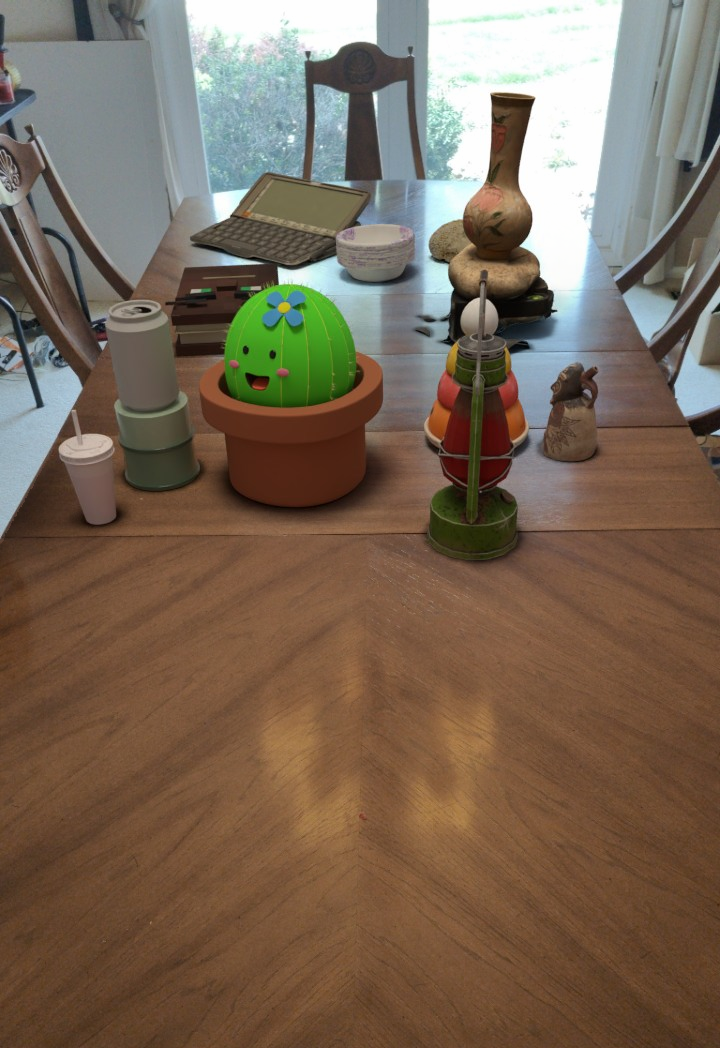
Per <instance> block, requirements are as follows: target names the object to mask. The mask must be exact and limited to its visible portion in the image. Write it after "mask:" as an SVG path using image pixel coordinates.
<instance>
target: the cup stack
mask: <svg viewBox="0 0 720 1048" xmlns="http://www.w3.org/2000/svg"><path fill="white" fill-rule="evenodd" d="M113 408H114V409H113V410H114V414H115V419H116V425H117V430H118V435H117V442H118V444H119V446H120V447H121V449H122V455H123V458H124V459H123V460H124V465H125V471H124V477H125V481H126V482H127V483H128V485H129V486H131V487H133V488H135V489H137V490H140V491H148V492H164V491H170V490H174V489H178V488H182V487H184V486H186V485H188V484H190V483H192V482H193V481H194V480H196V479H197V478H198V477H199V475H200V473H201V463H200V462H199V460H198V458H197V452H196V445H195V439H194V438H195V436H196V430H195V426H194V425H193V423H192V418H191V411H190V405H189V397H188V395H187V394H186V393H185V392H184V391H182V390H179V395H178V397H177V398H176V399H175V400H174V402H173V403H172V404H171V405H170V406H168V407H166V408H164V409H160V410H156V411H149V412H141V411H135V410H131V409H130V408H128V407H127V406H126V405H124V404H123V403H121V402H120V400H119V398H118V399H117V400H116V401H115V402H114V405H113Z"/></svg>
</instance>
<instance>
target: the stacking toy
mask: <svg viewBox="0 0 720 1048" xmlns="http://www.w3.org/2000/svg"><path fill="white" fill-rule="evenodd" d="M479 306H480V298H476V299H474V300H472V301H471V302H469V303H468V305H467V306H466V307H465V308H464V310H463V313H462V316H461V328H462V330H463V332H464V333H465V335H466V336H468V335H472V334H476V333H478V326H479ZM498 327H499V324H498V314H497V311H496V308H495V307H494V305H493V304H492V303H491V302H490V301H489V300H487V299H486V310H485V330H484V332H485V333H488V334H491V335H492V334H493V335H494V334H495V333H496V332H497V329H498ZM457 342H458V341H457ZM457 342H454V344H453V345H452V346H451V348H450V350H449V351H448V353H447V356H446V361H445V369H444V371H443V373H442V375H441V376H440V379H439V382H438V384H437V389H436V399H435V401H434V402H433V404H432V407H431V409H430V412H429V413H430V414H429V415H428V417H427V418H426V419H425V421H424V424H423V430H424V434H425V436H426V438H427V439H428V441H429V442H430V443H431V444H432V445H433V446H435V447H436V448H438V449H440V446H439V443H440V442H441V441H442V439H443V438H444V436H445V432H446V428H447V423H448V420H449V417H450V414H451V411H452V408H453V405H454V402H455V399H456V397H457V395H458V392H459V390H460V388H461V387H459V386H458V385H456V384H455V383H453V380H452V375H453V374H454V372H455V361H456V360H457V350H458V347H457ZM504 350H505V352H506V357H505V361H506V372H505V373H506V374H507V376H508V381H507V383H506V384H505V385H503V386H501V387H499V388H498V389H499V392H500V395H501V398H502V401H503V405H504V409H505V413H506V418H507V422H508V429H509V436H510V439H511V440H512V442H513V444H514V446H515V448H517V447H519V446H520V445H521V444H522V443H523V442H525V440H526V439H527V436H528V435H529V432H530V424H529V422H528V420H527V418H526V417H525V411H524V408H523V405H522V402H521V401H520V399H519V384H518V380H517V377H516V376H515V373H514V372H513V370H512V358H511V353H510V351H509V349H507V347H506V348H505V349H504ZM442 446H443V445H442Z"/></svg>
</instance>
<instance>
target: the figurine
mask: <svg viewBox="0 0 720 1048" xmlns="http://www.w3.org/2000/svg"><path fill="white" fill-rule="evenodd" d="M598 373H599V368H598V367H597V366H596V365H593V366H591V367H590V368H588V369H587V370H586V371H585V367H584V364H582V363H581V362H578V361H576V362H573V363H570V364H569V365H568V366H566V367H565V368H563V369H562V370H561V371H560V372H559V374H558V375H557V379H556V380H555V381H554V382H553V383H552V384H551V386H550V390H551V391H552V396H551V399H550V401H549V404H550V405H551V406H552V408H551V409H550V412H549V415H548V420H547V424H546V427H545V430H544V432H543V437H542V444H541V449H542V452H543V453H542V454H543V455H544V456H545V457H547V458H549V459H552V460H555V461H559V462H578V461H579V462H580V461H584V460H587V459H590V458H591V457H592V456H593V455H594V453H595V451H596V448H597V443H598V424H597V417H596V416H597V415H596V414H597V413H596V408H595V403H596V400H597V399H598V394H599V386H598V384H597V382H596V381H595V379H594V377H595V376H596V375H597V374H598ZM585 390H588V391H589V392H590V395H591V396H590V395H589V394H588V393H586V392H585Z"/></svg>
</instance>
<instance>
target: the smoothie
mask: <svg viewBox="0 0 720 1048" xmlns="http://www.w3.org/2000/svg"><path fill="white" fill-rule="evenodd" d="M70 413H71V417H72V421H73V426H74V430H75V436H72V437H69V438H67V439H66V440H64V441H63V442H62V443H61V444H60V445H59V446H58V449H57V450H58V454H59V459H60V461H62V462H63V463H64V465H65V468H66V471H67V474H68V476H69V479H70V482H71V484H72V486H73V489H74V492H75V495H76V497H77V499H78V502H79V505H80V507H81V510H82V513H83V515H84V518H85V521H86V522H87V523H89V524H90V525H95V526H96V525H97V526H100V525H105V524H108V523H111V522H112V521H114V520H115V519H116V518H117V503H116V490H115V489H116V488H115V474H114V473H115V472H114V459H113V455H114V453H115V451H116V450H115V449H116V448H115V446H114V441H113V439H112V438H111V437H109V436H108V435H104V434H101V433H85V434H82V431H81V427H80V422H79V418H78V413H77V410H76V409H71V411H70Z"/></svg>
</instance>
